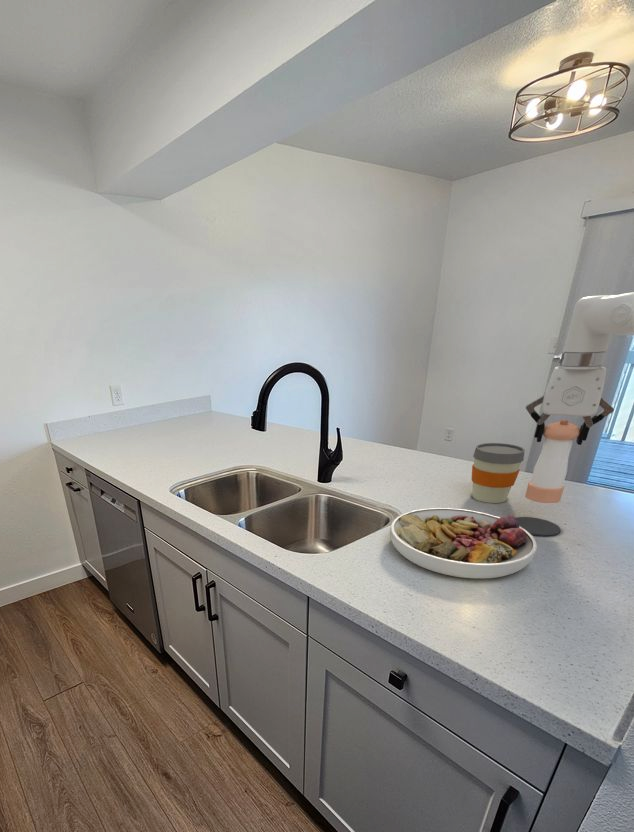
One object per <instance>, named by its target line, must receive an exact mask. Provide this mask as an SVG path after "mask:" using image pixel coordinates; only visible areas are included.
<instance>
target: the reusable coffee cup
mask: <svg viewBox="0 0 634 832" xmlns="http://www.w3.org/2000/svg"><path fill="white" fill-rule="evenodd" d="M525 451H526V450H525V448H523V447H522V446H519V445H516V444H510V443H502V442H485V443H479V444H477V445H476V446H475V449H474V452H473V458H474V459H473V464H472V465H471V482H472V492H471V497H472V498H473V499H474V500H476V501H479V502H483V503H489V504H499V503H504V502H506V501H507V498H508V496H509V493H510V491H511V489H512V487H513V486H514V485H515V483H516V480H517V478H518V475H519V473H520V471H521V468H520V466H521V464H522V462H523V461H524V459H525Z"/></svg>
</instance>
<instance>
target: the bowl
mask: <svg viewBox="0 0 634 832" xmlns="http://www.w3.org/2000/svg"><path fill="white" fill-rule="evenodd" d="M516 518H517V517H516V516H514V515H504V516H496V515H493V514H489V513H486V512H481V511H476V510H470V509H464V508H451V507H430V508H429V507H427V508H420V509H415V510H414V509H413V510H411V511H407V512H404V513H402V514H400V515H398V516H396V517H395V518H394V520H393V521H392V522H391V524H390V529H389V532H390V533H389V534H390V541H391V542H392V545H393V546H394V548H395V549H396V550H397V552H399V553H400V555H401V556H403V557H404V558H405V559H407V560H408V561H409V562H411V563H413V564H415V565H416V566H419V567H421V568H424V569H426V570H429V571H431V572H435V573H437V574H441V575H445V576H450V577H456V578H462V579H463V578H465V579H479V580H480V579H482V580H483V579H495V578H501V577H505V576H509V575H512V574H514V573H517V572H519V571H522V569H524V568H525V567H526V566H528V565H529V564H530V563H531V562H532V560H534V557H535V555H536V553H537V548H538V543H537V540H536V539H535V538H534V535H531V534H530V533H529V532H528V531H526V530H525V529H523V528H522V527H520V526H519V522H518V520H517V519H516Z"/></svg>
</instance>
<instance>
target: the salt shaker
mask: <svg viewBox="0 0 634 832" xmlns="http://www.w3.org/2000/svg"><path fill="white" fill-rule="evenodd" d="M579 434H580V427H579V426H578V425H576V424H575V423H571V422H569V421H568V420H567V419H561V420H560V421H559V422H557V421H556V422H552V423H548V424H546V425H545V428H544V432H543V435H542V437H545V438H544V441H543V443H542V444H543V445H542V448H541V451H540V454H539V457H538V459H537V461H536V463H535V465H534V467H533V470H532V476H531V480H530V481H529V482H528V484H527V486H526V487H527V488H526V491H525V495H524V497H525V498H526V499H527V500H530V501H532V502H536V503H541V504H557V503H559V502H561V499H562V495H563V492H564V489H565V486H564V482H565V480H566V476H567V473H568V467H569V466H568V465H569V457H570V453H571V450H572V446H573V443H574V440H577V437H578V436H579Z"/></svg>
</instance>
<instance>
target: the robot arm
mask: <svg viewBox="0 0 634 832" xmlns="http://www.w3.org/2000/svg"><path fill="white" fill-rule="evenodd" d="M612 336H620V337H623V336H625V337H626V336H634V291H632V292H626V293H621V294H602V295H591V296H590V295H589V296H584V297H581V298H580V299H579V300H577V301H576V302H575V305H574V308H573V311H572V316H571V319H570V322H569V326H568V330H567V335H566V337H565V342H564V346H563V350H562V352H561V353H560V354H556V355H555V354H554V355H553V357H552V361H551V362H552V363H558V366H555V367H554V368H553V371H552V373H551V375H550V377H549V380H548V382H547V385H546V388H545V391H544V394H543V395H541V396H540V397H538V398H536V399H534V400H533V401H531V402H529V403H528V404H526V405H525V409H526V411H527V413H528V414H529V415H530V417H531V418H532V420H533V421H534V422H535V423H536V428H535V431H534V436H533V438H535V439H536V442H537V443H540V442H542V438H543V432H544V428H545V427H546V424H545V422H546V421H547V420H548V419H549V418H550V417H551V416H562V417H582V419H583V422H582V424H581V425H580V427H579V429H580V434H579V436H578V437H577V438H576V439H575V440H576V444H577V445H579V446H582V444H583V441H587V438H588V435H589V432H590V429H591V428H592V427H593V426H594V425H595V424H597V423H599V422H601V421H602V420H604V418H606V417H608V416H609V415H610V414H612V413H613V412H615V409H614V407H613V406H612V405H611V404H610V403H608V402H607V401H606V400H605V399H604V398H603V397H602V395H603V391H604V386H605V381H606V374H607V368H606V366H605V367H604V366H603V365H604V364H603V363H604V361H605V358H606V355H607V350H608V348H609V345H610V341H611V339H612ZM540 405H541V407H540V408H541V414H539V413H538V412H537V411H536V409H535V408H536V407H538V406H540ZM599 407H600V408H601V409H602V410H601V411H600V412H599V413H597V412H598V409H599ZM591 416H592V417H591Z"/></svg>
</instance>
